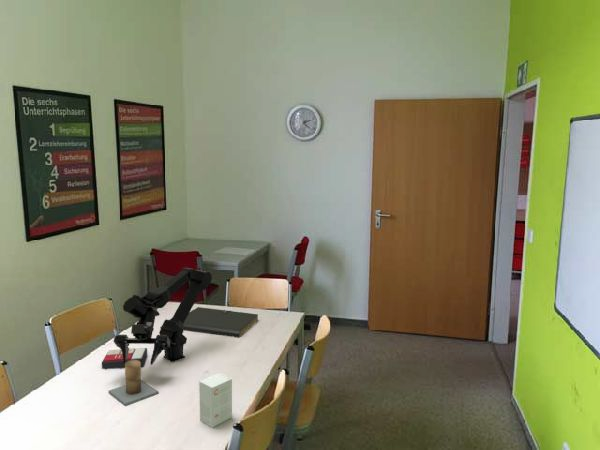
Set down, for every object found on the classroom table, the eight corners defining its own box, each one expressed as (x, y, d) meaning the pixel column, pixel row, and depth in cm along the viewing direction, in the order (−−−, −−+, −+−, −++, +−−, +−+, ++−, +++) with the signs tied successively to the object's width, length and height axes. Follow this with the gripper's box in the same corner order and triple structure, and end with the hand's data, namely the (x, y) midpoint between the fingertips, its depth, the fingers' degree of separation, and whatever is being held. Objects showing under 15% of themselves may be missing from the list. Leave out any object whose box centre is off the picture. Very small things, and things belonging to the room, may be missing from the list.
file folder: (258, 313, 239) (238, 331, 216) (258, 321, 239) (238, 339, 217) (198, 306, 248) (173, 322, 225) (198, 313, 248) (173, 330, 226)
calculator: (107, 349, 193) (146, 345, 195) (108, 359, 193) (147, 355, 196) (101, 360, 182) (142, 357, 184) (102, 371, 183) (143, 367, 185)
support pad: (141, 381, 173) (141, 379, 173) (158, 393, 165) (158, 391, 165) (108, 392, 165) (108, 390, 165) (125, 406, 157) (125, 403, 156)
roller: (136, 385, 168) (136, 358, 167) (144, 391, 165) (143, 363, 163) (123, 390, 165) (122, 363, 163) (130, 396, 161) (129, 367, 160)
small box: (219, 410, 155) (219, 372, 153) (232, 417, 151) (232, 378, 149) (199, 420, 149) (198, 380, 147) (212, 428, 145) (212, 387, 143)
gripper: (114, 313, 171) (104, 355, 162) (167, 313, 172) (160, 356, 162) (122, 326, 180) (113, 367, 171) (173, 326, 181) (166, 367, 171)
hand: (137, 364), depth 169 cm, fingers open, 9 cm apart
